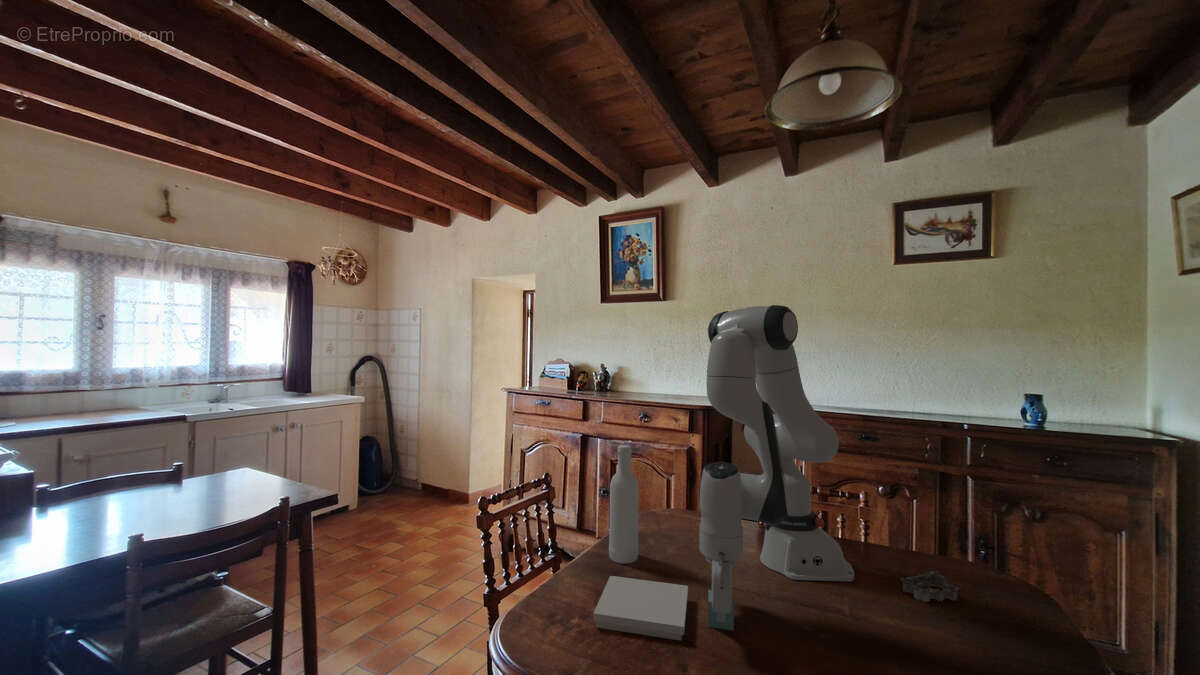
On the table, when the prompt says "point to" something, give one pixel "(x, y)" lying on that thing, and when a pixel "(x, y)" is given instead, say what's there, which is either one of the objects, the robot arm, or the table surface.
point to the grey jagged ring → (922, 583)
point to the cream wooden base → (643, 607)
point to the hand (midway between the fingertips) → (720, 611)
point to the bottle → (624, 510)
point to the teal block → (712, 616)
